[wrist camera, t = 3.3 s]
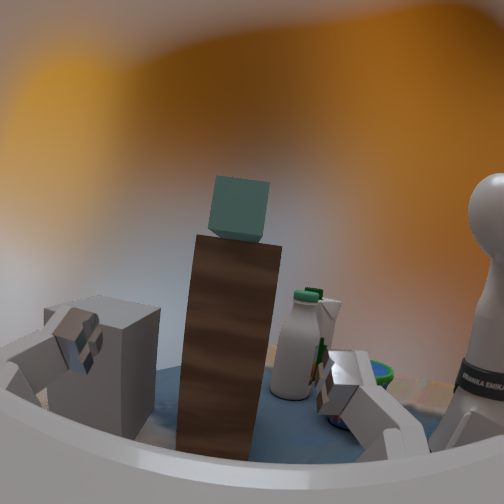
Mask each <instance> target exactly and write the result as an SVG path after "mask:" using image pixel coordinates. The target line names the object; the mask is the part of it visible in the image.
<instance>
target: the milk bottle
mask: <svg viewBox="0 0 504 504" xmlns="http://www.w3.org/2000/svg"><path fill="white" fill-rule="evenodd" d="M318 300H319V294H318V293H315V292H310V291H301V290H296V291H295V292H294V300H293V302H294V306H293V309H292V311H291V313H290V315H289V317H288V318H287V320H286V321H285V323H284V325H283V327H282V329H281V332H280V335H279V340H278V345H277V351H276V356H275V362H274V368H273V374H272V379H271V386H270V389H271V392H272V393H273V394H274V395H276V396H278V397H280V398H283V399H288V400H301V399H305V398H306V397H307V396H308V395H309V393H310V390H311V385H312V380H313V376H314V371H315V366H316V360H317V355H318V349H319V343H320V331H319V326H318V322H317V318H316V306H317V305H318Z"/></svg>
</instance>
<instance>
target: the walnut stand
mask: <svg viewBox="0 0 504 504" xmlns="http://www.w3.org/2000/svg"><path fill="white" fill-rule="evenodd" d="M281 252H282V246H276V245H269V244H262V243H255V242H248V241H241V240H233V239H226V238H219V237H211V236H204V235H197V236H196V243H195V250H194V258H193V265H192V272H191V273H192V274H191V280H190V289H189V296H188V305H187V314H186V323H185V333H184V342H183V352H182V363H181V375H180V388H179V401H178V417H177V434H176V451H180V452H186V453H191V454H197V455H203V456H209V457H216V458H223V459H231V460H240V461H248V457H249V452H250V447H251V441H252V436H253V430H254V425H255V419H256V413H257V408H258V402H259V396H260V390H261V384H262V378H263V372H264V366H265V360H266V354H267V348H268V341H269V334H270V328H271V322H272V315H273V309H274V302H275V295H276V288H277V281H278V274H279V267H280V260H281Z"/></svg>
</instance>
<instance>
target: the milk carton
mask: <svg viewBox="0 0 504 504" xmlns="http://www.w3.org/2000/svg"><path fill="white" fill-rule="evenodd" d="M305 291H310V292H315V293H318V294H319V300H318V305H317V306H316V318H317V322H318V326H319V331H320V343H319V349H318V355H317V360H316V366H315V371H314V376H313V380H315V374H316V370H317V367H318V364H320V363H322V362H323V361H322V355H323V352H324V351H325V350H326V349H331V344H332V338H333V333H334V327H335V322H336V318H337V315H338V313H339V310H340V307H341V304H342V302H341V301H336V300H331V299H327V298H322V297H323V290H322V289H316V288H308V287H307V288H305ZM313 380H312V381H313Z"/></svg>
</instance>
